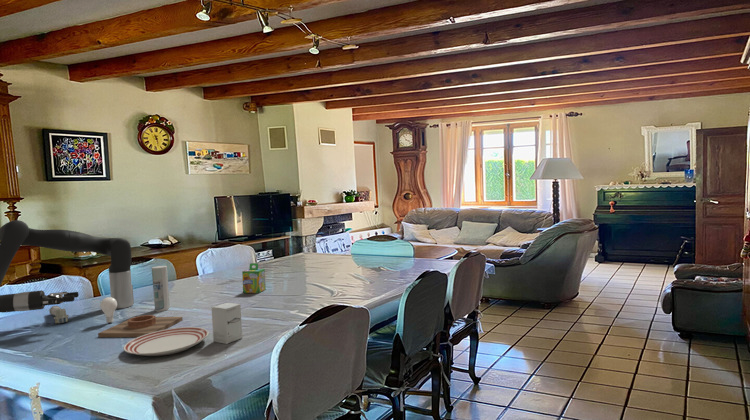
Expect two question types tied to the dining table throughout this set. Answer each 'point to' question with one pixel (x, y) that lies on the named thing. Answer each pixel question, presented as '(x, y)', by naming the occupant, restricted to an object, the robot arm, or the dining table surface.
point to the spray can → (160, 288)
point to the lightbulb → (108, 308)
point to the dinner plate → (166, 341)
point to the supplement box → (226, 323)
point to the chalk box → (254, 279)
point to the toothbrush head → (59, 314)
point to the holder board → (139, 331)
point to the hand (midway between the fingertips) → (76, 296)
